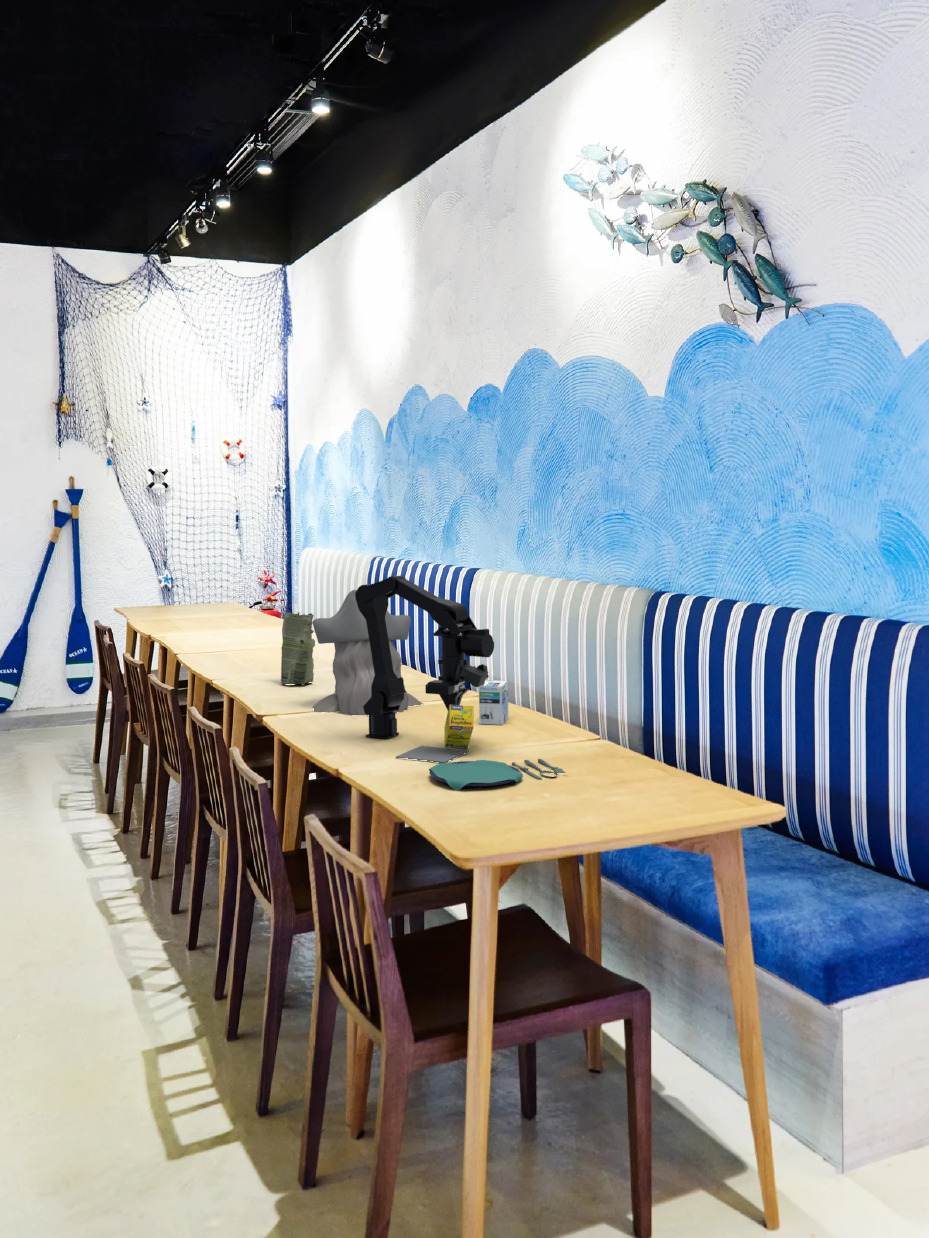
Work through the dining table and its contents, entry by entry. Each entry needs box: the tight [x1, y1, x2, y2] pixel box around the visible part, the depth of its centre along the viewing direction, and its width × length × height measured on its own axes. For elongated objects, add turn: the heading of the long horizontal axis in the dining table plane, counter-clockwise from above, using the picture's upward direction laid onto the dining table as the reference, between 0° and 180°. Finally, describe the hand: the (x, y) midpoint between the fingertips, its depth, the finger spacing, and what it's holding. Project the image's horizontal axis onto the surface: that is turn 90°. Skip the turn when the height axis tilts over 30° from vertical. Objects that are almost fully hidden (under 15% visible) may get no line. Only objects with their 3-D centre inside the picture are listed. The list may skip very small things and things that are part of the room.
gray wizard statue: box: [312, 589, 424, 716], centre depth 308 cm, size 34×34×35 cm
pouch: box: [280, 611, 316, 685], centre depth 349 cm, size 11×12×25 cm
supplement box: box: [443, 704, 475, 749], centre depth 248 cm, size 6×6×11 cm
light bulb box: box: [478, 679, 509, 726], centre depth 284 cm, size 11×7×11 cm, turn 168°
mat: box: [395, 745, 470, 764], centre depth 244 cm, size 13×13×1 cm
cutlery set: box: [428, 758, 566, 791], centre depth 224 cm, size 20×30×2 cm, turn 111°
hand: (453, 717), depth 253 cm, fingers closed
